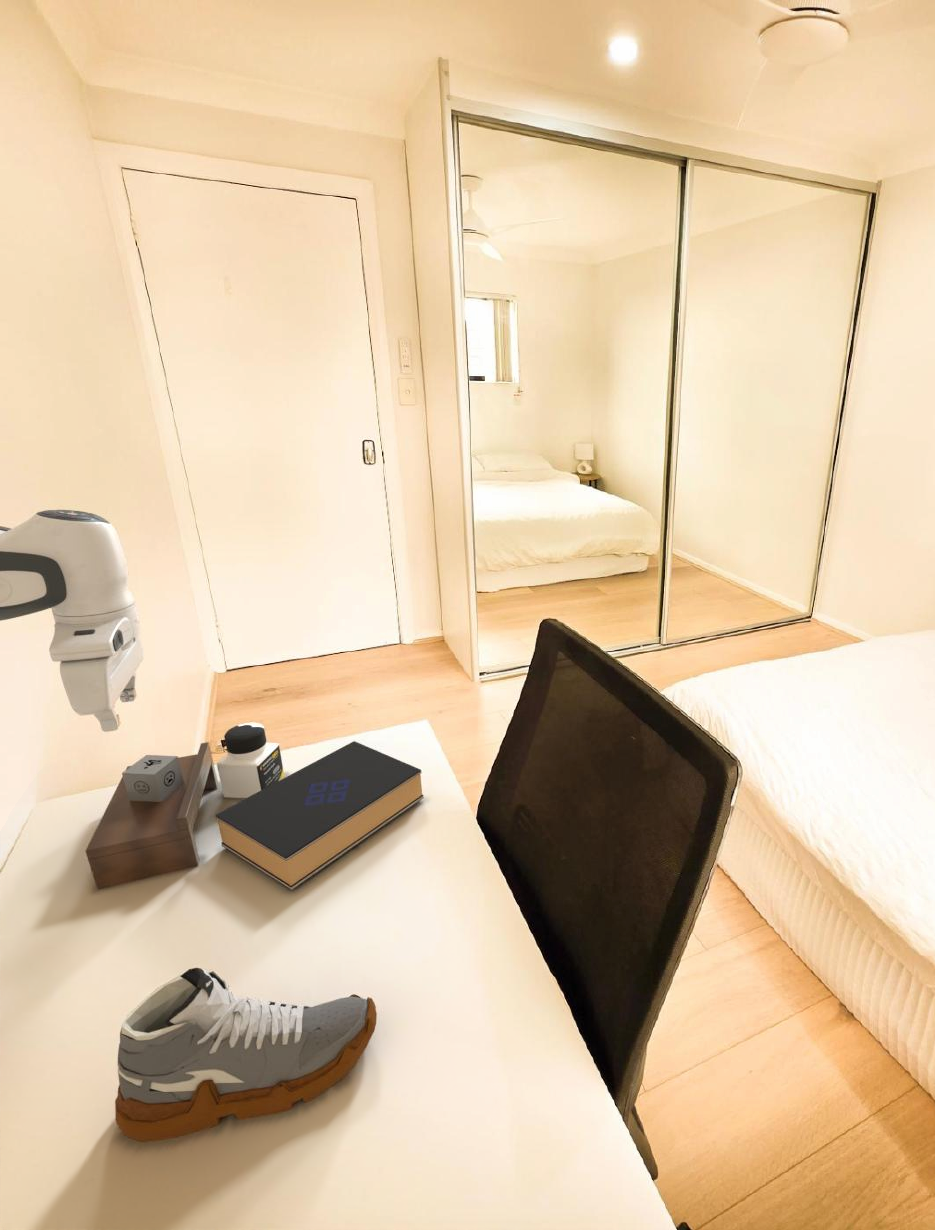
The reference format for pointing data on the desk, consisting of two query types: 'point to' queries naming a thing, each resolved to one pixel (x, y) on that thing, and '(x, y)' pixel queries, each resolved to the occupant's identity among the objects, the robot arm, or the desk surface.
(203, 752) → the wooden cradle stand
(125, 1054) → the sneaker
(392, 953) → the desk surface
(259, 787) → the medicine bottle
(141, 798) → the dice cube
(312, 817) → the book
